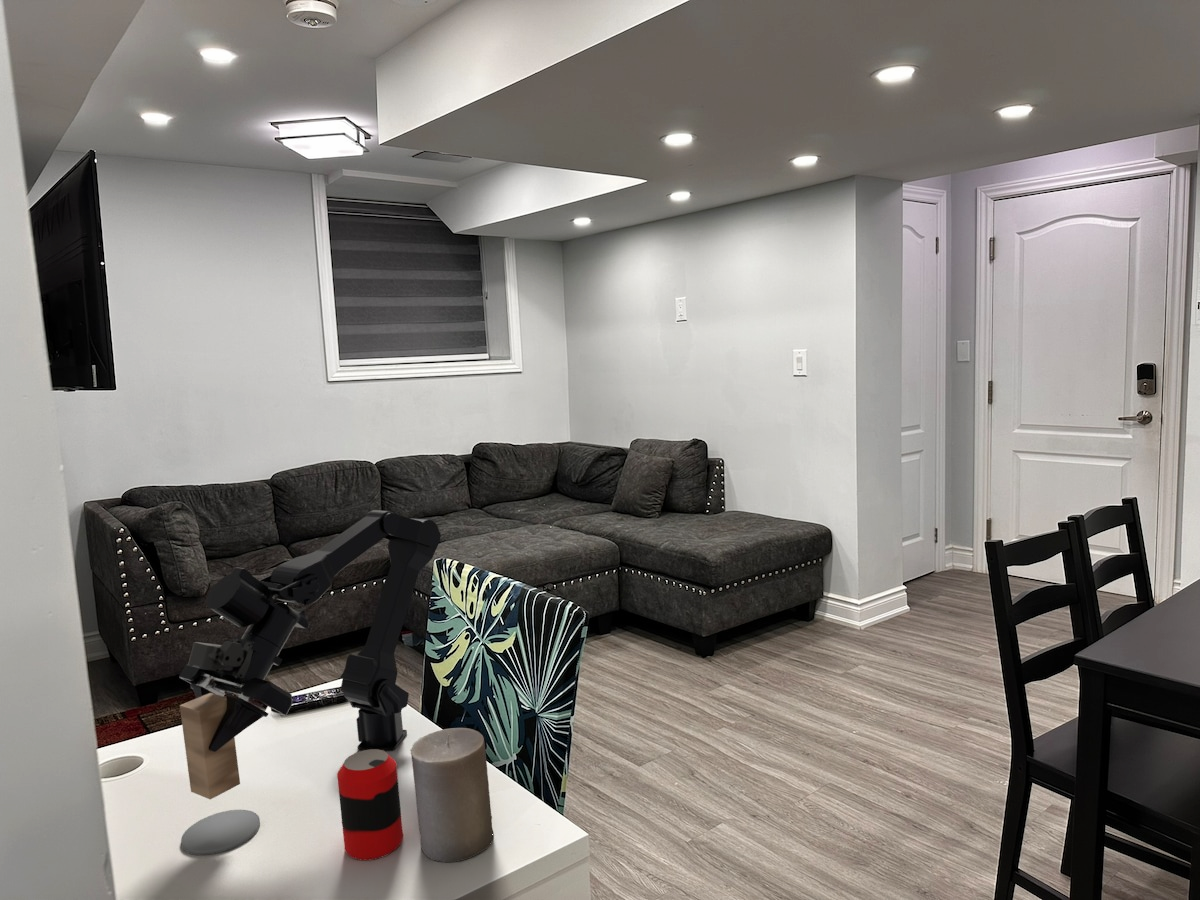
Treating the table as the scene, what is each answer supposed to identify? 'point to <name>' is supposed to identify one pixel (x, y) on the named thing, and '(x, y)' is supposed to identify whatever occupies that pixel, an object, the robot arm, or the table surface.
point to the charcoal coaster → (220, 832)
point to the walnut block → (205, 766)
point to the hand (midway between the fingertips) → (201, 746)
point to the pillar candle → (452, 794)
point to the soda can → (370, 804)
